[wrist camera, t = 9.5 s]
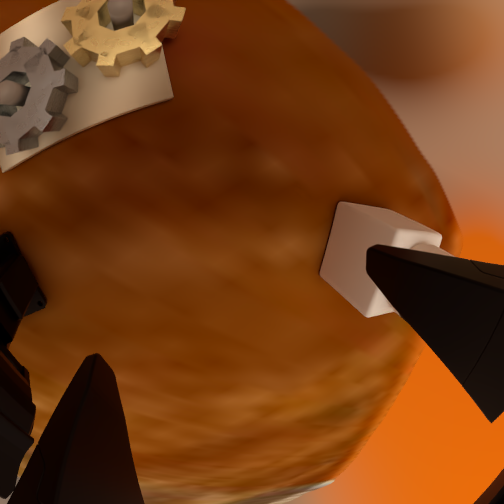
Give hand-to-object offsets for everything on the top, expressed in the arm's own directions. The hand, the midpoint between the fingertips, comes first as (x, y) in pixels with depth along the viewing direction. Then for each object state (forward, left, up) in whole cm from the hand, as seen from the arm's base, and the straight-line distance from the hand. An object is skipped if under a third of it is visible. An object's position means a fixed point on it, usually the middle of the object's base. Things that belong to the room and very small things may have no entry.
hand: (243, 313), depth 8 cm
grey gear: (-8, +11, -11) cm, 17 cm away
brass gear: (-1, +13, -11) cm, 17 cm away
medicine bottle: (+14, -8, -12) cm, 20 cm away
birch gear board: (-5, +12, -12) cm, 18 cm away
